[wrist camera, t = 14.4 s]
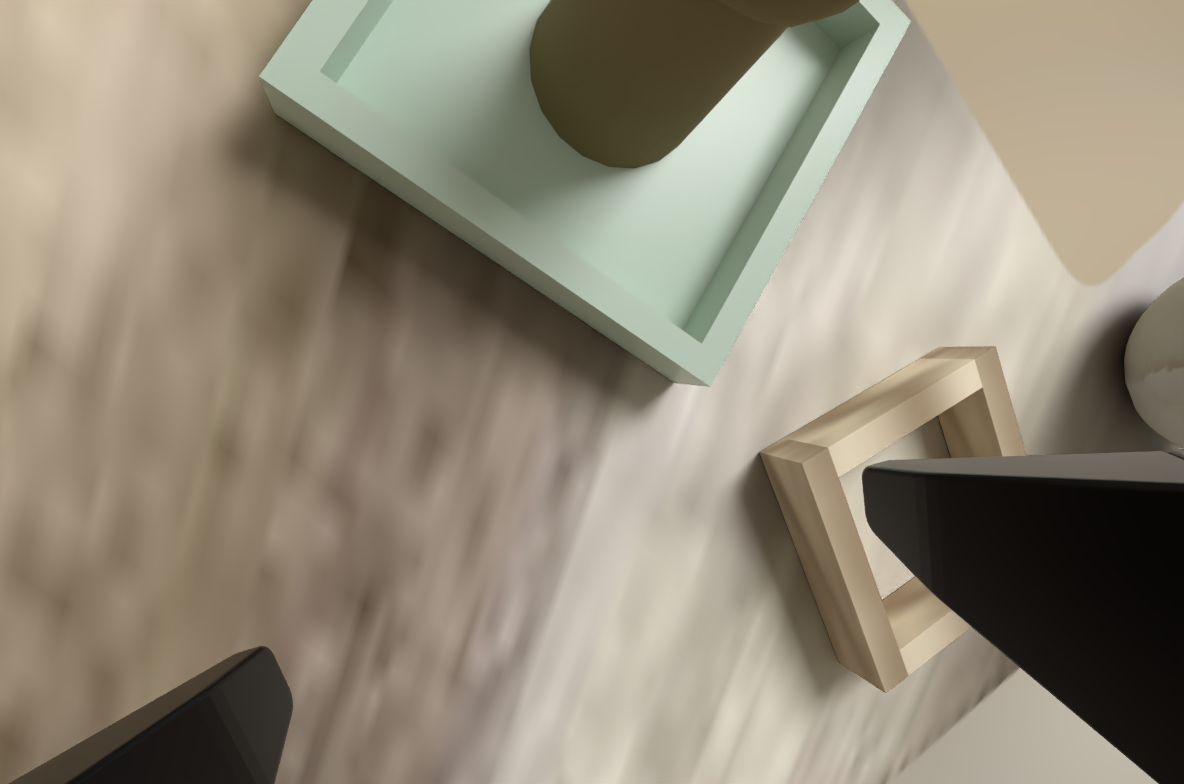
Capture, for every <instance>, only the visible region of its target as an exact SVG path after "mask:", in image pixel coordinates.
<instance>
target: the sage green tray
mask: <svg viewBox="0 0 1184 784" xmlns="http://www.w3.org/2000/svg"><path fill="white" fill-rule="evenodd" d="M550 1H551V0H312V2H311V3H310V5H309V6H308V7H307V9H306V10H305V12H304V13H303V15H302V16H301V17H300V19H299V20H298V22H297V23H296V24H295V26H294V27H293V29H292V30H291V32H290V33H289V34H288V36H287V37H286V39H285V40H284V42H283V43H282V44H281V46H280V47H279V49H278V50H277V52H276V53H275V54H274V56H273V57H272V59H271V60H270V62H269V63H268V64H267V66H266V67H265V69H264V70H263V71H262V73H261V74H260V76H259V77H260V80H261V82H262V85H263V87H264V89H265V92H266V94H267V97H268V99H269V102H270V104H271V106H272V109H273V111H274V113H275V114H276V115H278V116H279V117H281V118H282V119H284V120H285V121H286V122H288V123H289V124H291V125H292V126H294V127H295V128H297V129H298V130H300V131H301V132H303V133H304V134H306V135H307V136H309V137H310V138H312V139H313V140H315V141H316V142H318V143H319V144H321V145H322V146H324V147H325V148H327V149H328V150H330V151H331V152H332V153H334V154H335V155H337V156H338V157H340V158H341V159H343V160H344V161H346V162H347V163H349V164H350V165H352V166H353V167H355V168H356V169H358V170H359V171H361V172H362V173H364V174H365V175H367V176H368V177H370V178H371V179H373V180H374V181H376V182H377V183H379V184H380V185H381V186H383V187H384V188H386V189H387V190H389V191H390V192H392V193H393V194H395V195H396V196H398V197H399V198H401V199H402V200H404V201H405V202H407V203H408V204H410V205H411V206H413V207H414V208H416V209H417V210H419V211H420V212H422V213H423V214H425V215H426V216H428V217H429V218H430V219H432V220H433V221H435V222H436V223H438V224H439V225H441V226H442V227H444V228H445V229H447V230H448V231H450V232H451V233H453V234H454V235H456V236H457V237H459V238H460V239H462V240H463V241H465V242H466V243H468V244H469V245H471V246H472V247H474V248H475V249H476V250H478V251H479V252H481V253H482V254H484V255H485V256H487V257H488V258H490V259H491V260H493V261H494V262H496V263H497V264H499V265H500V266H502V267H503V268H505V269H506V270H508V271H509V272H511V273H512V274H514V275H515V276H517V277H518V278H520V279H521V280H523V281H524V282H525V283H527V284H528V285H530V286H531V287H533V288H534V289H536V290H537V291H539V292H540V293H542V294H543V295H545V296H546V297H548V298H549V299H551V300H552V301H554V302H555V303H557V304H558V305H560V306H561V307H563V308H564V309H566V310H567V311H569V312H570V313H572V314H573V315H574V316H576V317H577V318H579V319H580V320H582V321H583V322H585V323H586V324H588V325H589V326H591V327H592V328H594V329H595V330H597V331H598V332H600V333H601V334H603V335H604V336H606V337H607V338H609V339H610V340H612V341H613V342H615V343H616V344H618V345H619V346H621V347H622V348H623V349H625V350H626V351H628V352H629V353H631V354H632V355H634V356H635V357H637V358H638V359H640V360H641V361H643V362H644V363H646V364H647V365H649V366H650V367H652V368H653V369H655V370H656V371H658V372H659V373H661V374H662V375H664V376H665V377H667V378H668V379H669V380H671V381H672V382H674V383H680V384H690V385H699V386H709V387H710V386H711V384H712V382H713V381H714V379H715V377H716V375H717V373H718V372H719V370H720V368H721V366H722V364H723V362H724V361H725V359H726V357H727V355H728V353H729V352H730V350H731V348H732V346H733V344H734V342H735V341H736V339H737V337H738V335H739V333H740V332H741V330H742V328H743V326H744V324H745V322H746V321H747V319H748V317H749V315H750V313H751V312H752V310H753V308H754V306H755V304H756V302H757V301H758V299H759V297H760V295H761V293H762V292H763V290H764V288H765V286H766V284H767V283H768V281H769V279H770V277H771V275H772V273H773V272H774V270H775V268H776V266H777V264H778V263H779V261H780V259H781V257H782V255H783V253H784V252H785V250H786V248H787V246H788V244H789V243H790V241H791V239H792V237H793V235H794V233H795V232H796V230H797V228H798V226H799V224H800V223H801V221H802V219H803V217H804V215H805V213H806V212H807V210H808V208H809V206H810V204H811V203H812V201H813V199H814V197H815V195H816V194H817V192H818V190H819V188H820V186H821V184H822V183H823V181H824V179H825V177H826V175H827V174H828V172H829V170H830V168H831V166H832V164H833V163H834V161H835V159H836V157H837V155H838V154H839V152H840V150H841V148H842V146H843V144H844V143H845V141H846V139H847V137H848V135H849V134H850V132H851V130H852V128H853V126H854V124H855V123H856V121H857V119H858V117H859V115H860V114H861V112H862V110H863V108H864V106H865V105H866V103H867V101H868V99H869V97H870V95H871V94H872V92H873V90H874V88H875V86H876V85H877V83H878V81H879V79H880V77H881V75H882V74H883V72H884V70H885V68H886V66H887V65H888V63H889V61H890V59H891V57H892V55H893V54H894V52H895V50H896V48H897V46H898V45H899V43H900V41H901V39H902V37H903V35H904V34H905V32H906V30H907V28H908V26H909V25H910V23H911V21H910V20H909V19H908V18H907V16H906V15H905V14H904V13H903V12H902V11H901V10H900V9H899V8H898V7H897V5H896V4H895V3H894V2H893V1H892V0H860V1H859V2H857V3H856V4H854V5H853V6H851V7H850V8H849V9H847V10H846V11H844V12H842V13H839V14H836V15H833V16H830V17H827V18H824V19H821V20H818V21H814V22H810V23H806V24H802V25H798V26H794V27H788V28H787V29H786V30H785V31H784V32H783V34H782V35H781V36H780V37H779V38H778V39H777V40H776V41H775V42H774V43H773V44H772V45H771V47H770V48H769V49H768V50H767V51H766V52H765V53H764V54H763V55H762V56H761V57H760V58H759V60H758V61H757V62H756V63H755V64H754V65H753V66H752V67H751V68H750V69H749V70H748V71H747V73H746V74H745V75H744V76H743V77H742V78H741V79H740V80H739V81H738V82H737V83H736V84H735V85H734V87H733V88H732V89H731V90H730V91H729V92H728V93H727V94H726V95H725V96H724V97H723V98H722V100H721V101H720V102H719V103H718V104H717V105H716V106H715V107H714V108H713V109H712V110H711V111H710V113H709V114H708V115H707V116H706V117H705V118H704V119H703V120H702V121H701V122H700V123H699V124H698V126H697V127H696V128H695V129H694V130H693V131H692V132H691V133H690V134H689V135H688V136H687V137H686V139H685V140H684V141H683V142H682V143H681V144H680V145H679V146H678V147H677V148H675V149H674V150H673V151H671V152H670V153H669V154H668V155H666V156H665V157H664V158H662V159H661V160H660V161H658V162H655V163H651V164H648V165H645V166H641V167H638V168H619V167H608V166H605V165H603V164H601V163H598V162H596V161H593V160H591V159H588V158H586V157H584V156H582V155H581V154H579V153H578V152H577V151H576V150H575V149H573V148H572V147H571V146H570V145H569V144H567V143H566V142H565V141H564V140H563V139H561V138H560V137H559V136H558V134H557V133H556V131H555V130H554V128H553V127H552V126H551V124H550V123H549V121H548V120H547V118H546V117H545V115H544V114H543V112H542V111H541V108H540V105H539V102H538V100H537V97H536V94H535V91H534V88H533V85H532V82H531V72H530V51H529V48H530V45H531V41H532V37H533V33H534V30H535V26H536V22H537V19H538V18H539V16H540V15H541V14H542V12H543V11H544V9H545V8H546V6H547V5H548V3H549V2H550Z"/></svg>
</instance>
